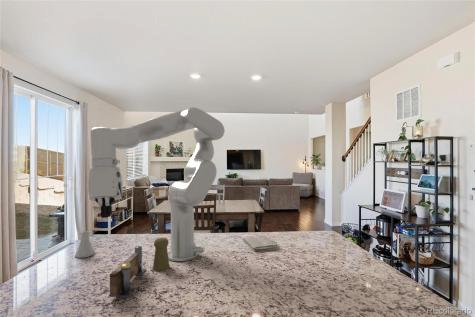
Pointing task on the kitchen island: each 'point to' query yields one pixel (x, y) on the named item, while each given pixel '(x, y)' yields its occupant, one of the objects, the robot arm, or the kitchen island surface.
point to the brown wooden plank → (116, 274)
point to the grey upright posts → (125, 275)
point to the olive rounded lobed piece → (161, 255)
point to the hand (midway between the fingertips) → (106, 216)
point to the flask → (84, 246)
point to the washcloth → (260, 243)
